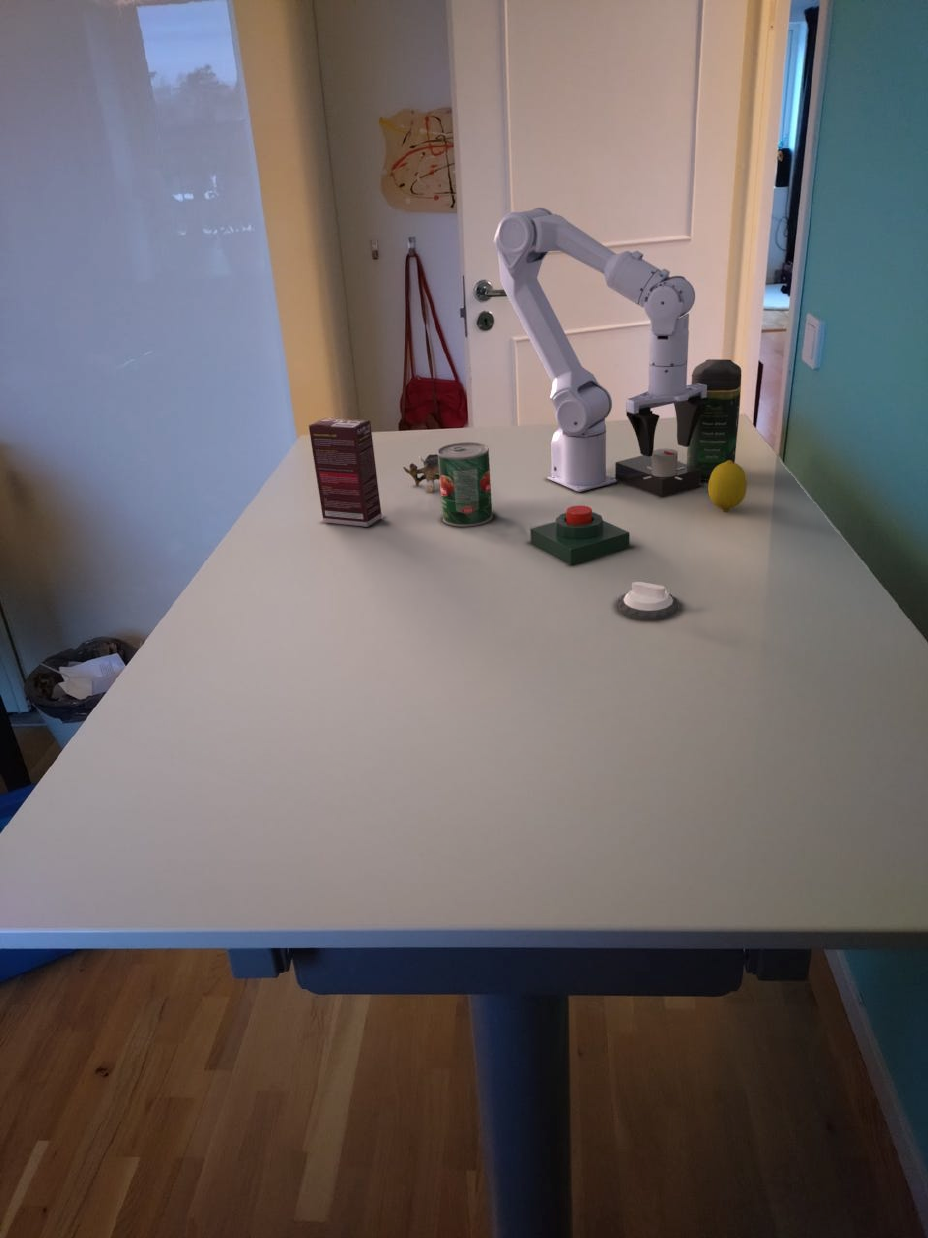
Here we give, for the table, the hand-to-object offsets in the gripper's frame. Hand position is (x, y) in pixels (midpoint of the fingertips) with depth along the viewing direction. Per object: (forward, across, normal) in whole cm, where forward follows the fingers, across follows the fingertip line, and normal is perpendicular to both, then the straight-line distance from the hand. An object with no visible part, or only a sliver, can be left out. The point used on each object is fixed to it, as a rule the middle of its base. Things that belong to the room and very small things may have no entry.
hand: (665, 450), depth 142 cm
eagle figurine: (+7, -28, +26) cm, 39 cm away
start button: (+3, -24, -10) cm, 26 cm away
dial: (+4, 0, 0) cm, 4 cm away
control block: (+7, -24, -10) cm, 27 cm away
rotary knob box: (+7, +1, +3) cm, 8 cm away
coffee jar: (+7, +12, +2) cm, 14 cm away
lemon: (+7, +1, -13) cm, 15 cm away
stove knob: (+7, -29, -31) cm, 43 cm away
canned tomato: (+7, -31, +10) cm, 33 cm away
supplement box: (+7, -46, +21) cm, 51 cm away
